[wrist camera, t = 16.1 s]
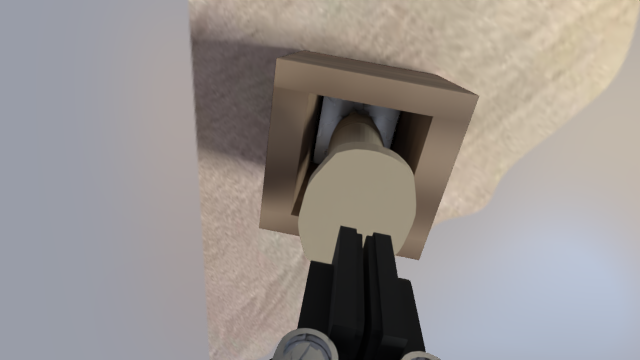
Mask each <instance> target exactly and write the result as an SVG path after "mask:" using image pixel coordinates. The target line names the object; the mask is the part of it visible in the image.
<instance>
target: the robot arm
mask: <svg viewBox="0 0 640 360" xmlns="http://www.w3.org/2000/svg"><path fill="white" fill-rule="evenodd" d="M270 360H440V359H439V358H438V357H435V356H434V355H431V354H429V353H426V351H425V346H424V341H423V337H422V332H421V328H420V323H419V318H418V313H417V309H416V304H415V299H414V294H413V290H412V286H411V282H410V281H409V280H407V279H402V278H398V276H397V269H396V263H395V257H394V251H393V245H392V239H391V236H390V235H386V234H381V233H376V232H374V233H373V235H372V236H369V235H367V236H366V239H365V242H364V246H363V237H362V234H359V233H357V229H356V228H351V227H346V226H340V229H339V233H338V238H337V242H336V246H335V251H334V255H333V259H332V264H328V263H323V262H318V261H313V260H311V263H310V268H309V273H308V278H307V283H306V287H305V292H304V297H303V302H302V307H301V312H300V317H299V322H298V327H297V329H296V330H293V331H291V332H289V333H288V334H286V335H285V336H284V337H283V338H282V340H281V341H280V343H279V344H278V347H277V349H276V351H275V354H274V356H273V358H272V359H270Z"/></svg>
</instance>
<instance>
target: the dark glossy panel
mask: <svg viewBox="0 0 640 360" xmlns="http://www.w3.org/2000/svg"><path fill="white" fill-rule="evenodd" d="M354 111H356V112H357V113H358V114H360V115H369V116H370V117H371V118H372V120H373V122H374V123H375V124H376V126H377V127H378V129H379V131H380V133H381V136H382V139H383V143H384V147H385V148H388V149H390V146H391V142H392V138H393V135H394V131H395V127H396V124H397V120H398V116H399V113H400V110H396V109H391V108H386V107H380V106H375V105H370V104H365V103H359V102H354V101H349V100H343V99H338V98H333V97H327V96H324V99H323V105H322V111H321V117H320V123H319V129H318V135H317V141H316V147H315V153H314V158H313V163H316V164H321V163H322V162H323V161H324V159H325V158H326V157H327V154H328V146H329V142H330V139H331V136H332V133H333V131H334V129H335V127H336V126H337V124H338V123H339V122H340V121H341V120H342V119H344V118H345V117H347V116H348V115H349V113H350V112H354Z"/></svg>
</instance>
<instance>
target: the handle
mask: <svg viewBox="0 0 640 360" xmlns="http://www.w3.org/2000/svg"><path fill="white" fill-rule="evenodd" d="M415 215H416V193H415V182H414V175H413V172H412V170H411V168H410V167H409V165H408V164H407V163H406V162H405V160H404V159H403V158H401V157H400V156H399V155H398V154H397V153H395V152H393V151H391V150H390V149H388V148H385V147H384V143H383V139H382V136H381V133H380V131H379V129H378V127H377V126H376V124H375V123H374V122H373V120H372V118H371V117H370V116H369V115H360V114H358V113H357V112H356V111H354V112H350V113H349V115H348V116H347V117H345V118H344V119H342V120H341V121H340V122H339V123H338V124H337V126H336V127H335V129H334V131H333V133H332V136H331V139H330V142H329V146H328V154H327V157H326V158H325V159H324V161H323V162H322V163H321V164H320V165H319V166H318V168H317V169H316V170H315V171H314V173H313V174H312V175H311V177H310V179H309V182H308V185H307V188H306V192H305V195H304V199H303V202H302V206H301V210H300V213H299V219H298V228H299V235H300V239H301V243H302V247H303V251H304V255H305V257H306V258H307V259H308V260H309V261H310V262H311V260H313V261H318V262H323V263H328V264H332V259H333V255H334V251H335V246H336V242H337V238H338V233H339V229H340V226H346V227H351V228H356V229H357V233H359V234H362V237H363V246H364V242H365V239H366V236H367V235H369V236H372V235H373V233H374V232H376V233H381V234H386V235H390V236H391V239H392V245H393V251H394V256H395V255H396V254H397V253H398V252H399V251H400V249H401V247H402V246H403V244H404V242H405V240H406V238H407V235H408V233H409V231H410V229H411V227H412V224H413V221H414V218H415Z"/></svg>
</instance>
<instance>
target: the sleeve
mask: <svg viewBox="0 0 640 360" xmlns="http://www.w3.org/2000/svg"><path fill="white" fill-rule="evenodd" d="M321 95H322V96H327V97H333V98H338V99H343V100H349V101H354V102H359V103H365V104H370V105H375V106H380V107H386V108H391V109H396V110H402V111H401V115H400V119H399V122H398V126H397V130H396V133H395V137H394V141H393V144H392V148H391V151H393V152H395V153H397V154H398V155H399V156H400V157H401V158H403V159H404V160H405V162H406V163H407V164H408V165H409V167H410V168H411V170H412V172H413V175H414V182H415V193H416V215H415V218H414V221H413V224H412V227H411V229H410V231H409V233H408V235H407V238H406V240H405V242H404V244H403V246H402V247H401V249H400V251H399V252H398V253H397V254H396V256H401V257H406V258H411V259H416V260H419V259H420V256H421V253H422V250H423V248H424V245H425V242H426V240H427V237H428V234H429V231H430V229H431V226H432V223H433V221H434V218H435V215H436V212H437V210H438V207H439V204H440V202H441V199H442V196H443V193H444V191H445V188H446V185H447V182H448V180H449V177H450V174H451V172H452V169H453V166H454V163H455V161H456V158H457V155H458V153H459V150H460V147H461V144H462V142H463V139H464V136H465V134H466V131H467V128H468V125H469V123H470V120H471V117H472V114H473V112H474V109H475V106H476V104H477V101H478V98H479V96H478V95H476V94H474V93H472V92H470V91H468V90H466V89H464V88H462V87H460V86H458V85H456V84H454V83H452V82H450V81H448V80H446V79H444V78H442V77H440V76H438V75H434V74H428V73H423V72H418V71H412V70H407V69H401V68H396V67H391V66H385V65H380V64H374V63H369V62H364V61H358V60H353V59H347V58H342V57H337V56H331V55H326V54H320V53H315V52H310V51H300V52H297V53H293V54H290V55H286V56H282V57H279V58H277V59H276V68H275V78H274V88H273V98H272V107H271V117H270V127H269V136H268V146H267V156H266V165H265V175H264V185H263V195H262V204H261V214H260V224H259V228H262V229H267V230H272V231H277V232H282V233H286V234H291V235H296V236H300V235H299V228H298V219H299V213H300V210H301V206H302V202H303V199H304V195H305V192H306V188H307V185H308V182H309V179H310V177H311V175H312V174H313V173H314V171H315V170H316V169H317V168H318V166H319V165H320V164H316V163H313V162H310V161H311V155H312V149H313V143H314V137H315V131H316V125H317V119H318V112H319V106H320V100H321Z"/></svg>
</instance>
